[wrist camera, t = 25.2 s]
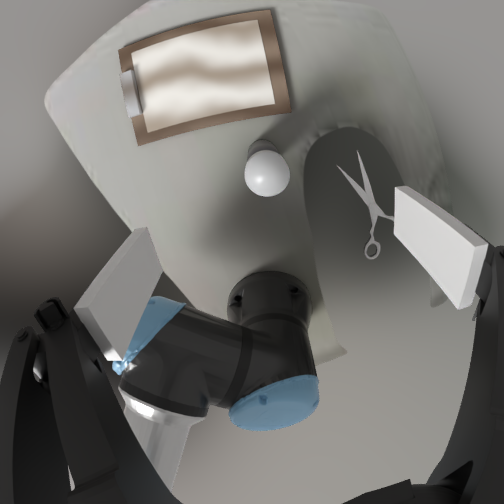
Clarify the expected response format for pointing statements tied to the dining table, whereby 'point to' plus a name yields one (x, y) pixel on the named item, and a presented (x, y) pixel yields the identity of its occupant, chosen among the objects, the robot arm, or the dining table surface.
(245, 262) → the dining table surface
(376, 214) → the scissors
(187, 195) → the dining table surface
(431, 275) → the robot arm
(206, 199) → the dining table surface
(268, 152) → the marker
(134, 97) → the clipboard
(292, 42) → the dining table surface
